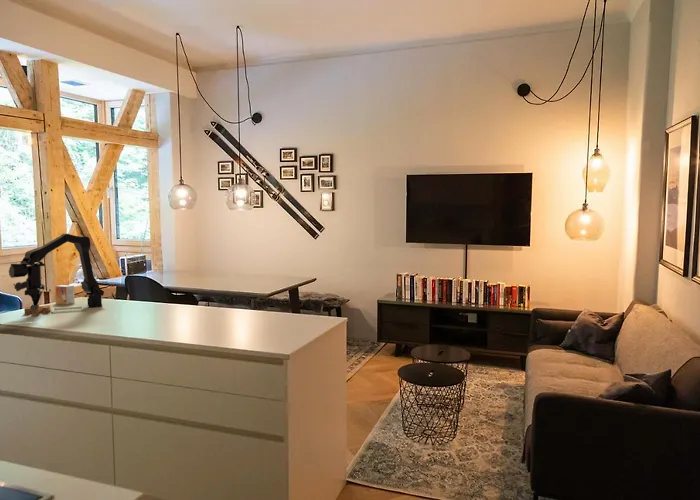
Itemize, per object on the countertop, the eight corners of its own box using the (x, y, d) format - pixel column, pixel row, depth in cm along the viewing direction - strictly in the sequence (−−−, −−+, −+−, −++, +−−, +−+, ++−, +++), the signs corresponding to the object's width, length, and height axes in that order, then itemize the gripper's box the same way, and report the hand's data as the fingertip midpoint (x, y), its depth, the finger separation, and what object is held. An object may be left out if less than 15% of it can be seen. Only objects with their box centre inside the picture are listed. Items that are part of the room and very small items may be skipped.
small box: (55, 304, 284) (54, 286, 283) (63, 302, 289) (63, 284, 288) (66, 305, 282) (66, 286, 281) (75, 303, 287) (74, 285, 286)
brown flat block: (53, 310, 266) (52, 303, 266) (49, 315, 253) (48, 308, 253) (26, 312, 262) (26, 304, 261) (21, 317, 248) (20, 309, 248)
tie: (39, 307, 253) (38, 304, 252) (37, 309, 247) (36, 306, 246) (32, 307, 251) (31, 304, 251) (29, 310, 245) (29, 307, 245)
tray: (83, 308, 272) (83, 306, 271) (82, 312, 262) (82, 309, 262) (53, 310, 266) (53, 308, 266) (51, 314, 257) (51, 311, 257)
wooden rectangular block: (50, 311, 262) (50, 304, 262) (49, 312, 259) (49, 305, 259) (26, 312, 258) (25, 305, 258) (24, 314, 255) (24, 307, 254)
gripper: (18, 274, 257) (20, 304, 258) (11, 278, 240) (12, 311, 241) (44, 273, 261) (45, 302, 262) (38, 277, 244) (39, 309, 245)
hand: (35, 306), depth 253 cm, fingers closed
